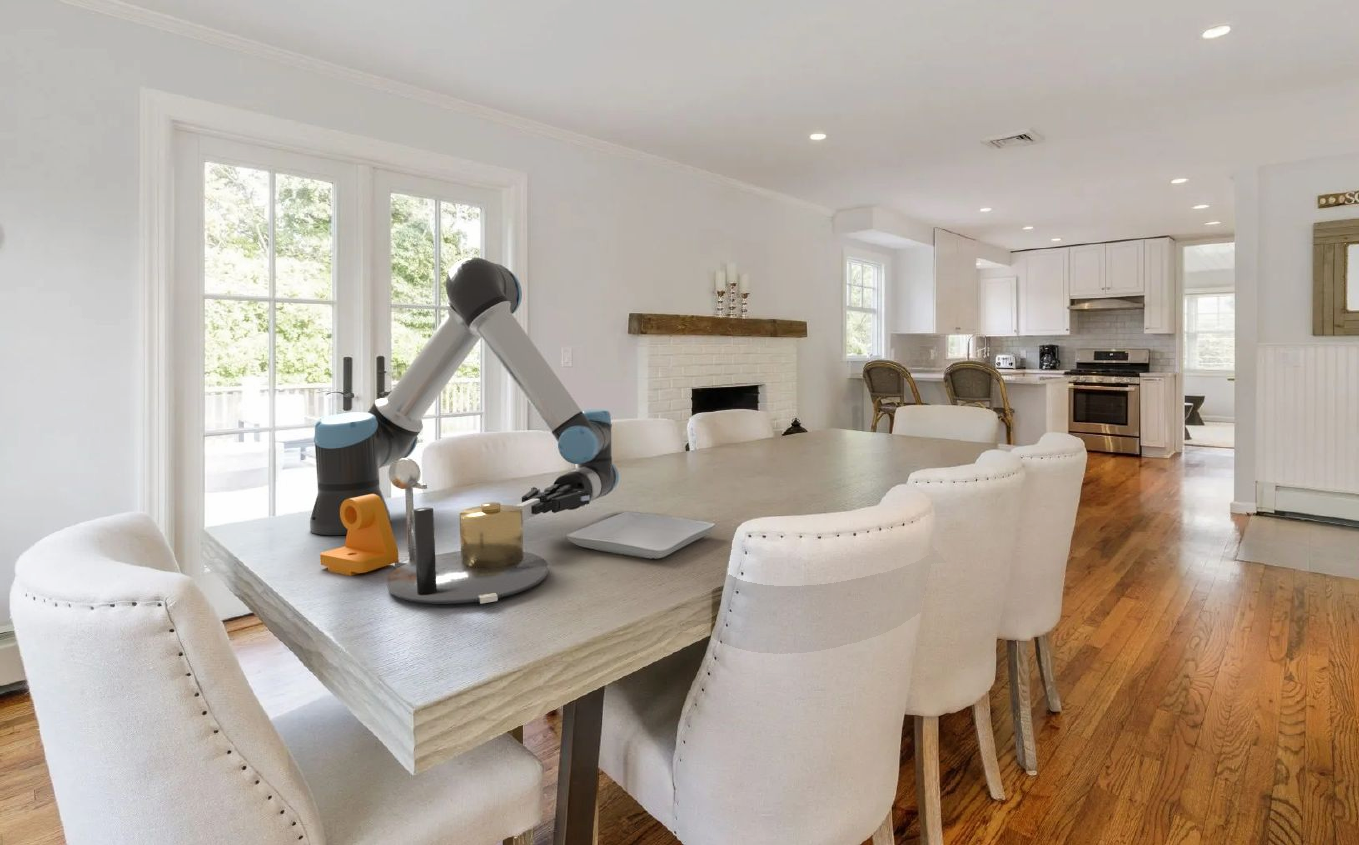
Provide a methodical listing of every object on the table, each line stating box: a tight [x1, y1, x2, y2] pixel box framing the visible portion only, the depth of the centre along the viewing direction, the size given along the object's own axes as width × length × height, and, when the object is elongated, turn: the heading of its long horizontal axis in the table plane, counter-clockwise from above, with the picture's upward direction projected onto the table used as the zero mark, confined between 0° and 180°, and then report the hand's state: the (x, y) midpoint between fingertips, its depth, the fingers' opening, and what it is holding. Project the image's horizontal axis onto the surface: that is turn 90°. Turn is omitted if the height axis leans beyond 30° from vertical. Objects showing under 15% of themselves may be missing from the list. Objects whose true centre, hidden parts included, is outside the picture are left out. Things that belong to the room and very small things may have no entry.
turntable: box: [386, 506, 549, 605], centre depth 108 cm, size 24×24×13 cm
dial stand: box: [387, 457, 428, 570], centre depth 116 cm, size 7×4×18 cm, turn 83°
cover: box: [459, 501, 524, 568], centre depth 115 cm, size 10×10×9 cm
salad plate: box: [565, 510, 716, 559], centre depth 131 cm, size 21×21×3 cm
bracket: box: [319, 494, 400, 577], centre depth 116 cm, size 11×7×12 cm, turn 63°
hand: (518, 513), depth 122 cm, fingers closed
